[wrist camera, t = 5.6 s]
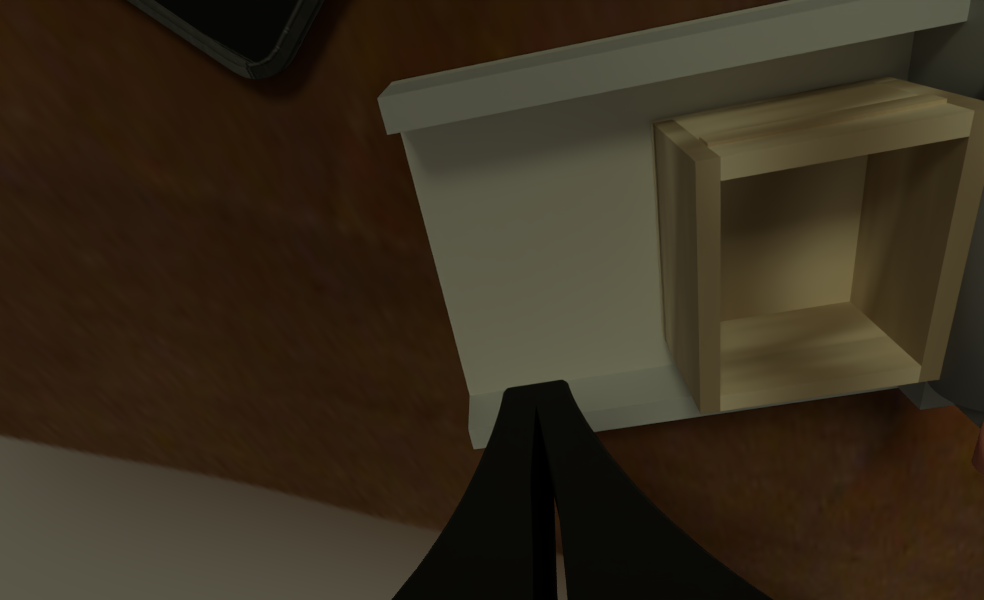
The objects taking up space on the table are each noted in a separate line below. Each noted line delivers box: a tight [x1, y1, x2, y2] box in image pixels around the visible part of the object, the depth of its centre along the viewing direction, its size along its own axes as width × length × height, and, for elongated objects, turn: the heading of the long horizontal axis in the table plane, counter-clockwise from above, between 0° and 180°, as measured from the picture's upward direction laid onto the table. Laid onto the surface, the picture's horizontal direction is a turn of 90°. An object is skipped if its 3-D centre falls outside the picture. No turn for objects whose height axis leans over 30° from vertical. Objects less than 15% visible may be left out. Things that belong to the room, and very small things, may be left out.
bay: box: [377, 0, 984, 474], centre depth 18 cm, size 17×13×7 cm
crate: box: [651, 76, 984, 414], centre depth 18 cm, size 7×8×4 cm
